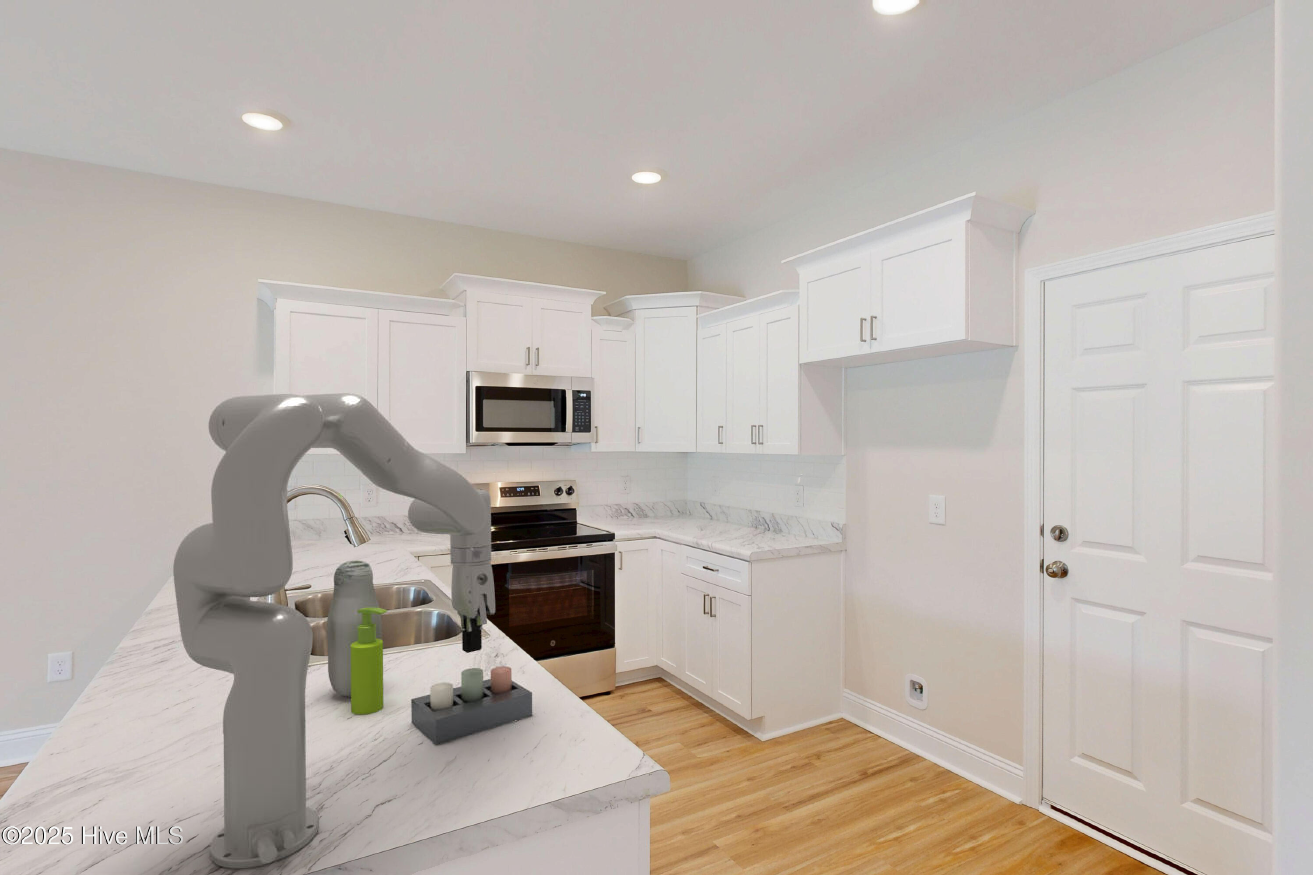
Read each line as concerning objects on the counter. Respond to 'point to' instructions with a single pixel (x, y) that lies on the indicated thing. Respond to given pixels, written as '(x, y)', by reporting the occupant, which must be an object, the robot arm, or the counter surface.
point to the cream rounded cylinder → (441, 696)
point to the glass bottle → (348, 619)
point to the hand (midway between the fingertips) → (472, 650)
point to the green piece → (472, 684)
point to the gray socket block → (470, 713)
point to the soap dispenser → (367, 666)
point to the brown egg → (501, 680)
